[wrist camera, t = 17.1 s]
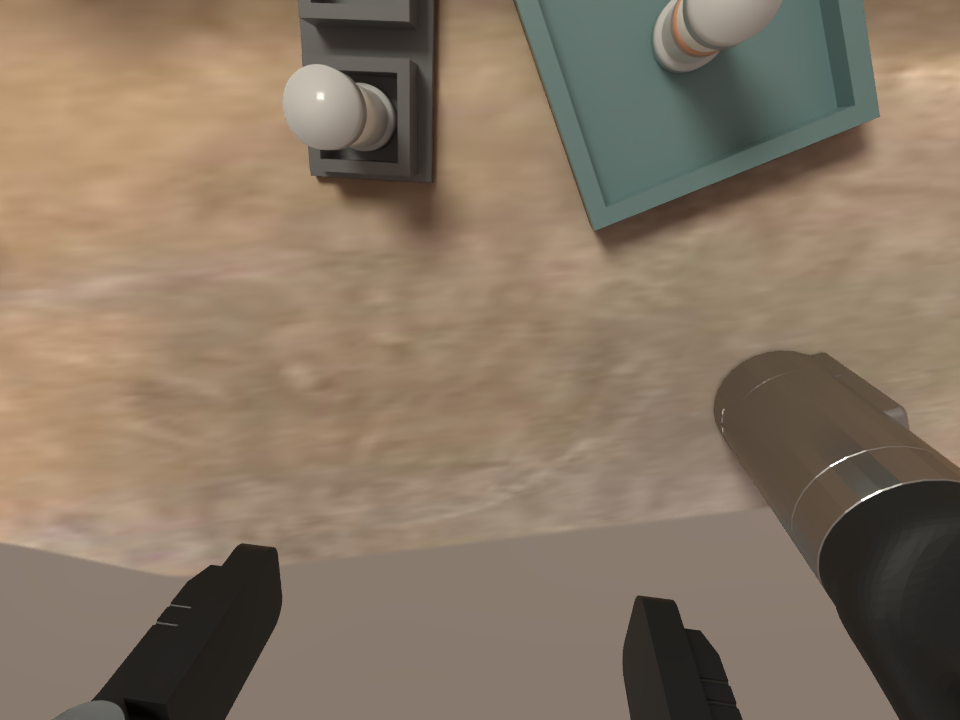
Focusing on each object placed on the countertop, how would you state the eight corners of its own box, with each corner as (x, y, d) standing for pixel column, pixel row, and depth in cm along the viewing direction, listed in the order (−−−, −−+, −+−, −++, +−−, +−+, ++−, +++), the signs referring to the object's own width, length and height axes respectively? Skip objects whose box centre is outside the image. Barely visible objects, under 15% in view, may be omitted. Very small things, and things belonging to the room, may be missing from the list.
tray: (797, -209, 29) (825, -247, 26) (852, 119, 34) (879, 116, 32) (498, -44, 33) (495, -61, 30) (590, 225, 39) (594, 231, 36)
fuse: (382, 75, 35) (336, 50, 27) (407, 137, 37) (371, 131, 28) (329, 100, 36) (268, 84, 28) (355, 160, 38) (305, 161, 29)
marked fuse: (708, -18, 32) (772, -84, 23) (728, 53, 33) (796, 14, 24) (641, 18, 33) (679, -33, 24) (663, 85, 34) (706, 59, 25)
